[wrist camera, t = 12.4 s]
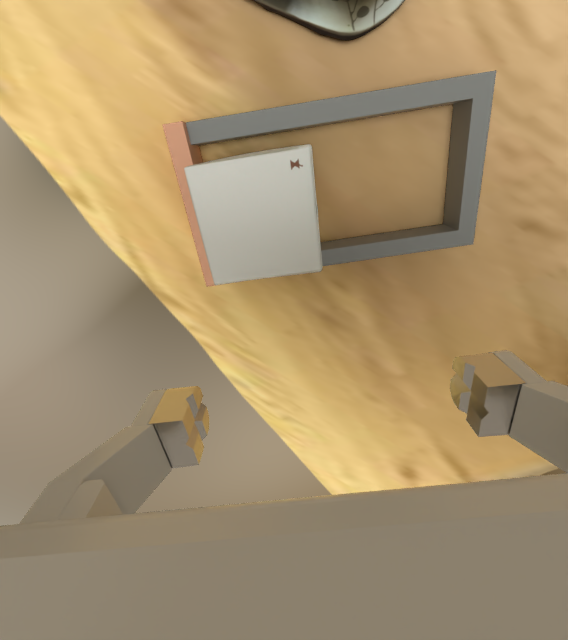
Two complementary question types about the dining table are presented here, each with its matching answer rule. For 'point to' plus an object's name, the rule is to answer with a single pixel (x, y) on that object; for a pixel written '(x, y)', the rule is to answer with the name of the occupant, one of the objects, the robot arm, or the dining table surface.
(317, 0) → the salad plate
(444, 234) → the bay
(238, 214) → the supplement box
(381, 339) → the dining table surface
